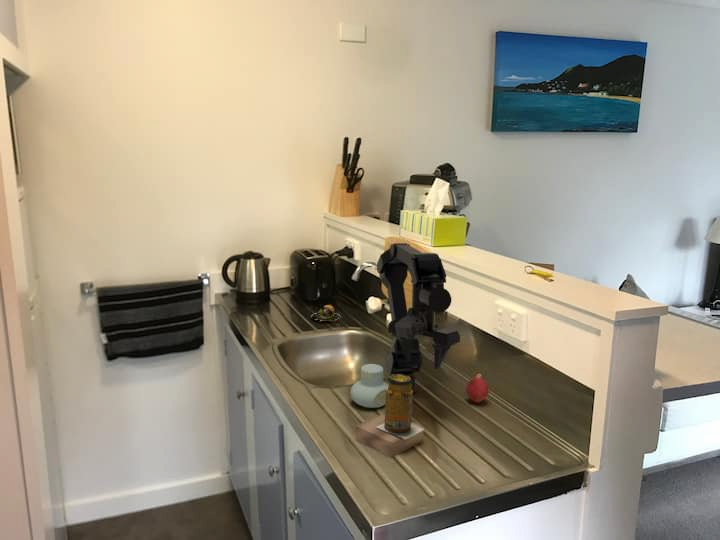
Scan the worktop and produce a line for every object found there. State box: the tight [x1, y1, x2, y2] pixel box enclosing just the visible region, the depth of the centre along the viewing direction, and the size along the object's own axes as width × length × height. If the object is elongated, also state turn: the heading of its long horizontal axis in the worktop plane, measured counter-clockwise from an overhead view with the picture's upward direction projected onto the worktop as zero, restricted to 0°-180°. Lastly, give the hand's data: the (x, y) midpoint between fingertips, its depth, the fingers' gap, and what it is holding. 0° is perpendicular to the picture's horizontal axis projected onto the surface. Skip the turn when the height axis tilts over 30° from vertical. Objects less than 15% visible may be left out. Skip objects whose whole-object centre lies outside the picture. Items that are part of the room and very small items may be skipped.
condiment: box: [377, 374, 425, 439], centre depth 132 cm, size 7×8×12 cm
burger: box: [310, 302, 342, 323], centre depth 227 cm, size 12×12×8 cm
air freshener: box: [350, 363, 388, 409], centre depth 153 cm, size 11×8×10 cm
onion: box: [465, 373, 490, 404], centre depth 156 cm, size 6×6×8 cm
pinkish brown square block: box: [355, 412, 425, 458], centre depth 134 cm, size 11×11×4 cm
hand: (422, 364), depth 146 cm, fingers open, 9 cm apart
